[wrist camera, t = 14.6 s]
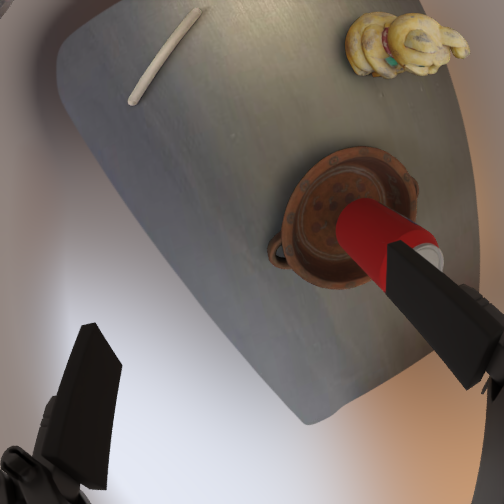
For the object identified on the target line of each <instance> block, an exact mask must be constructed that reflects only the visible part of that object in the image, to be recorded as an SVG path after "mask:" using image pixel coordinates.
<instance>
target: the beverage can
mask: <svg viewBox="0 0 504 504" xmlns="http://www.w3.org/2000/svg"><path fill="white" fill-rule="evenodd" d="M336 237H337V241H338V243H339V245H340V246H341V247H342V248H343V249H344V250H345V251H346V253H347V254H348V255H349V256H350V257H351V258H352V259H353V260H354V261H355V262H356V263H357V264H358V265H359V266H360V267H361V268H362V269H363V270H364V271H365V273H366V274H367V275H368V276H369V277H370V278H371V279H372V280H373V281H374V282H375V283H376V284H377V285H378V286H379V287H380V288H381V289H382V290H383V291H384V292H386V271H387V244H389V243H392V242H395V241H398V240H402V241H403V242H404V243H406V244H407V245H408V246H410V247H411V248H412V249H414V250H415V251H416V252H418V253H419V254H420V255H421V256H423V257H424V258H425V259H426V260H428V261H429V262H430V263H431V264H433V265H434V266H435V267H436V268H438V269H439V270H440V271H441V272H442V271H443V266H444V258H443V254H442V252H441V250H440V249H439V247H438V244H437V241H436V239H435V238H434V236H433V235H432V234H431V233H430V232H428V231H427V230H425V229H424V228H422V227H421V226H419V225H417V224H416V223H414V222H413V221H411V220H409V219H408V218H406V217H404V216H403V215H401V214H399V213H398V212H396V211H394V210H392V209H391V208H389V207H387V206H385V205H384V204H382V203H380V202H378V201H376V200H374V199H371V198H360V199H357V200H355V201H353V202H351V203H350V204H348V205H347V206H346V207H345V208H344V209H343V211H342V212H341V214H340V216H339V218H338V220H337V224H336Z"/></svg>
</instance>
